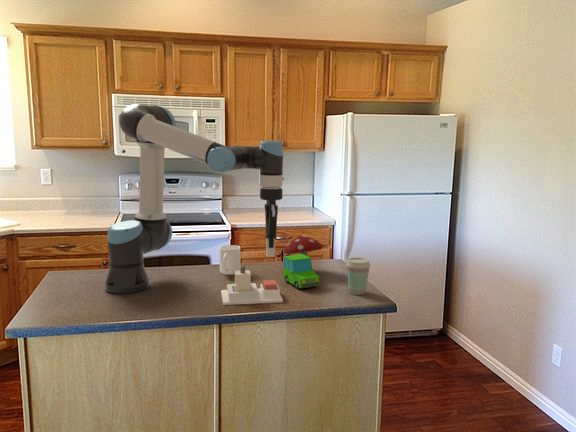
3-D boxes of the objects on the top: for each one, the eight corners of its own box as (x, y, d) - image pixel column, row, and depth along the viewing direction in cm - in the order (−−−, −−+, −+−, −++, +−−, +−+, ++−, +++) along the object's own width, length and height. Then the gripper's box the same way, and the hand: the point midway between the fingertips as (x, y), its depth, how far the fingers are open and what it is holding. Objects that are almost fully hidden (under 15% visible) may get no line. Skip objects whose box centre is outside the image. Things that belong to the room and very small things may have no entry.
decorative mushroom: (282, 276, 193) (282, 239, 190) (283, 265, 209) (284, 231, 206) (322, 277, 193) (324, 240, 190) (321, 266, 208) (322, 232, 206)
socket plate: (222, 304, 161) (222, 295, 161) (221, 292, 174) (221, 282, 173) (283, 302, 165) (283, 292, 164) (276, 289, 177) (277, 280, 177)
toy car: (297, 292, 175) (298, 265, 174) (281, 282, 187) (281, 256, 185) (322, 288, 180) (323, 262, 178) (304, 278, 192) (305, 253, 190)
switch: (265, 290, 167) (265, 284, 167) (263, 285, 172) (263, 280, 172) (276, 290, 168) (276, 284, 167) (274, 285, 173) (274, 279, 172)
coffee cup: (370, 290, 179) (372, 258, 177) (366, 297, 171) (368, 264, 169) (347, 287, 181) (349, 256, 179) (342, 294, 173) (343, 261, 171)
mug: (233, 278, 190) (233, 252, 188) (213, 277, 191) (213, 251, 189) (242, 270, 201) (242, 245, 199) (223, 268, 203) (223, 244, 201)
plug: (235, 297, 166) (235, 269, 164) (234, 292, 171) (234, 265, 169) (250, 297, 166) (250, 268, 165) (249, 292, 171) (249, 264, 170)
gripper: (285, 189, 158) (284, 260, 162) (279, 185, 171) (278, 251, 175) (262, 189, 157) (262, 261, 161) (257, 185, 170) (257, 251, 174)
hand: (270, 256), depth 168 cm, fingers closed
